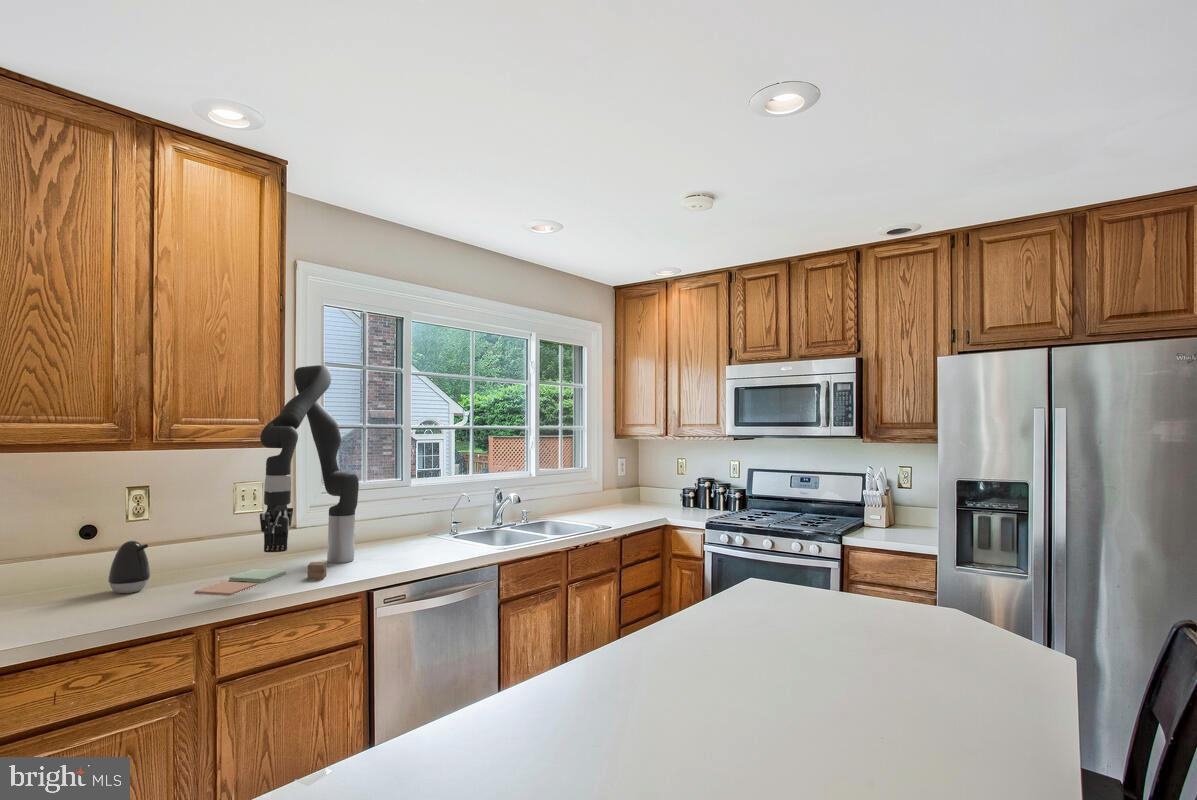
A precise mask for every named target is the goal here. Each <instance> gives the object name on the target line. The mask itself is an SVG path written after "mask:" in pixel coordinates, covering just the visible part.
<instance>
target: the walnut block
mask: <svg viewBox="0 0 1197 800" xmlns="http://www.w3.org/2000/svg"><path fill="white" fill-rule="evenodd" d="M327 563H328V562H327V561H311V562H309V563H308V564H307V573H306V575H307V576H306V580H307V581H321V580H322V581H324V579H325V578H326V577H327V570H328V569H327V567H328V566H327V565H328V564H327Z"/></svg>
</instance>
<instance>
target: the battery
mask: <svg viewBox="0 0 1197 800" xmlns="http://www.w3.org/2000/svg"><path fill="white" fill-rule="evenodd" d="M270 523H274V522H271V521H270ZM265 528H266V525H265ZM271 528H272V526H271ZM289 529H290V527H289V518H288V517H287V516H286V515H285V516H283V515H282V516H280V518H279V522H278V525H277V526H276V528H275V532H274V533H275V538H274V545H272V546H271V545H267V544H266V533H265V532H263V543H264V544H263V552H264V553H284V552H286V551H288V547H289V546H288V541H289V531H290V530H289Z"/></svg>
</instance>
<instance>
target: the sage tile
mask: <svg viewBox="0 0 1197 800" xmlns="http://www.w3.org/2000/svg"><path fill="white" fill-rule="evenodd" d="M284 574H285V575H286V574H287V570H280V569H264V568H263V569H261V568H259V569H258V568H252V569H249V570H247V571H243V572H241V573H237V574H235V575H231V576H229V578H228V579H229V580H228V582H239V581H247V582H246V583H258V582H264V583H266V581H267V582H269V581H271V579H272V580H274V578H275V579H277V578H279V576H280V577H282V576H285V575H284ZM281 575H282V576H281ZM276 577H277V578H276ZM268 580H269V581H268Z"/></svg>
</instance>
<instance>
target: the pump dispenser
mask: <svg viewBox="0 0 1197 800" xmlns="http://www.w3.org/2000/svg"><path fill="white" fill-rule="evenodd" d="M148 547H149V544H148V543H146V544H145V543H144V544H141V543H140V542H138V541H136V540H128V541H126V542H124V543H122V544H121V545H120V546H119V548H118V549H117V552H116V553H115V556H114V558H113V560H112V562H111V565H110V569H109V574H108V581H107V582H108V583H109V585H110V588H111V589H112V591H114V592H115V593H117V594H121V593H127V594H133V592H134V593H137V592H139V591H141V590H143V589H144V588H145V587H146V585H147V584H148V582H149V579H150V578H151V570H150V564H149V559H148V556H147V554H146V550H145V549H147V548H148Z"/></svg>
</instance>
